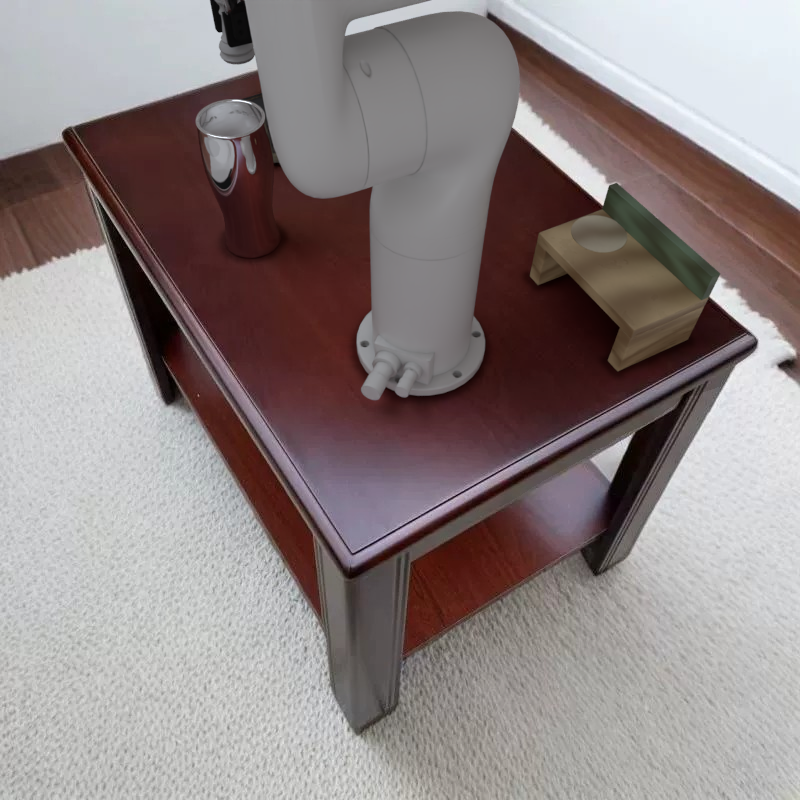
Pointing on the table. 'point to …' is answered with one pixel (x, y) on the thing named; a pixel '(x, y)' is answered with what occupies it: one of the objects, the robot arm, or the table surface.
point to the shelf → (630, 274)
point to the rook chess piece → (236, 53)
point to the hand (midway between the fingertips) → (234, 35)
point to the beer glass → (240, 173)
